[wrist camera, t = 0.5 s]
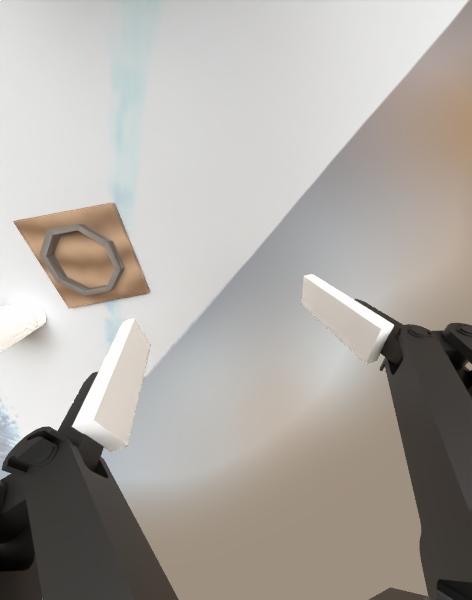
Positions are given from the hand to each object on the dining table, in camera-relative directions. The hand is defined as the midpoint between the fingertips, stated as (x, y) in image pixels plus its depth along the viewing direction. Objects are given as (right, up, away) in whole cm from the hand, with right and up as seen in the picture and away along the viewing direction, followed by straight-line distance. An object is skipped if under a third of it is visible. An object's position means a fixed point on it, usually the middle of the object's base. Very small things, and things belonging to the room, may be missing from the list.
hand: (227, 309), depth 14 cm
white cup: (-47, -2, +26) cm, 54 cm away
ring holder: (-30, +9, +23) cm, 38 cm away
